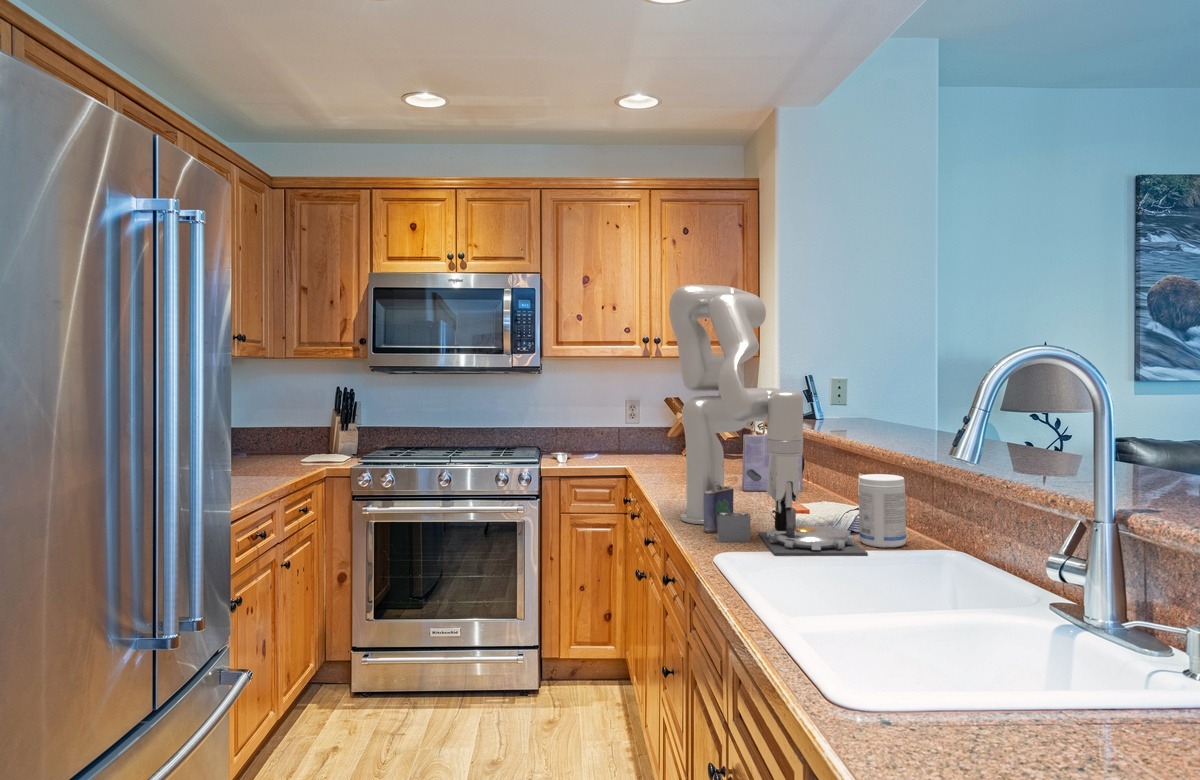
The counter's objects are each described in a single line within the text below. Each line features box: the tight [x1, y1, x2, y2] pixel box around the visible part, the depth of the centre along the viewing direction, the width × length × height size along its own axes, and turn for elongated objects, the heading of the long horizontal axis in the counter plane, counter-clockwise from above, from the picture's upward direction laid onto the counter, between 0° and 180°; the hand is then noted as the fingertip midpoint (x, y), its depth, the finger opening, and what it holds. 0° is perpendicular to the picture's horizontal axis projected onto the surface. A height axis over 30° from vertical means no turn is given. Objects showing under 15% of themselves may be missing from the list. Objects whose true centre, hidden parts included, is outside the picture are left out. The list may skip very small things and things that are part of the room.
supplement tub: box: [858, 473, 907, 549], centre depth 161 cm, size 10×10×15 cm
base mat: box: [757, 531, 869, 557], centre depth 161 cm, size 19×19×1 cm
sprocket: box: [766, 507, 855, 550], centre depth 160 cm, size 18×18×7 cm
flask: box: [703, 481, 735, 534], centre depth 176 cm, size 10×3×12 cm, turn 133°
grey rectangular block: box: [716, 511, 751, 543], centre depth 165 cm, size 4×7×6 cm, turn 88°
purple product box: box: [741, 434, 806, 493], centre depth 230 cm, size 19×5×18 cm, turn 84°
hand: (782, 529), depth 161 cm, fingers closed
